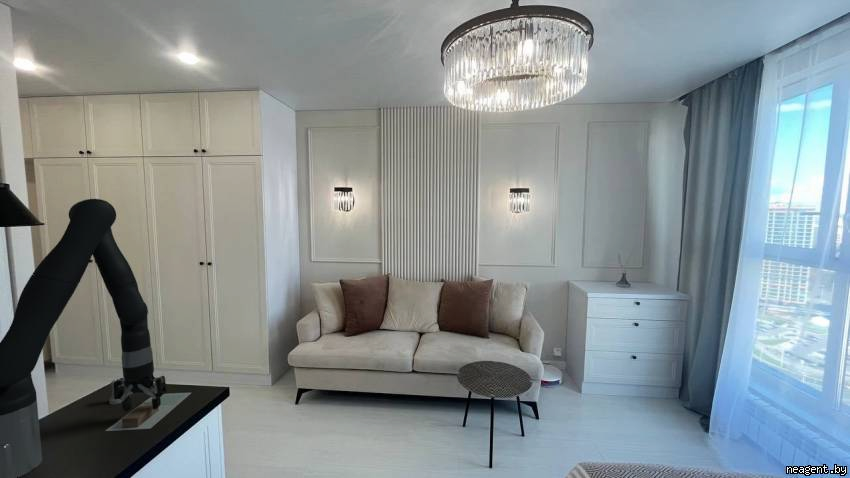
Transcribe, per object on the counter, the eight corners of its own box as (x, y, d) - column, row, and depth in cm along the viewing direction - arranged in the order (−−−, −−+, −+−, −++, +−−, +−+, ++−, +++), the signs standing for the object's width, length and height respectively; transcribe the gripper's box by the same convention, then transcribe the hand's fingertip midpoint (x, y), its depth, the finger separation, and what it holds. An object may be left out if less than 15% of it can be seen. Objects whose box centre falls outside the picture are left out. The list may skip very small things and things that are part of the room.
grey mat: (150, 429, 103) (150, 428, 103) (105, 432, 102) (105, 430, 102) (191, 393, 124) (191, 392, 124) (154, 395, 123) (154, 394, 123)
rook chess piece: (113, 399, 120) (112, 378, 119) (128, 397, 121) (127, 376, 121) (106, 406, 116) (104, 384, 115) (122, 404, 117) (120, 382, 116)
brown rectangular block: (138, 427, 104) (137, 417, 103) (122, 428, 103) (122, 418, 103) (158, 410, 113) (158, 401, 112) (144, 411, 112) (143, 402, 112)
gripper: (103, 368, 102) (108, 417, 104) (153, 365, 104) (157, 414, 105) (123, 357, 110) (127, 404, 111) (169, 355, 111) (173, 401, 113)
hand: (142, 409), depth 108 cm, fingers open, 8 cm apart
